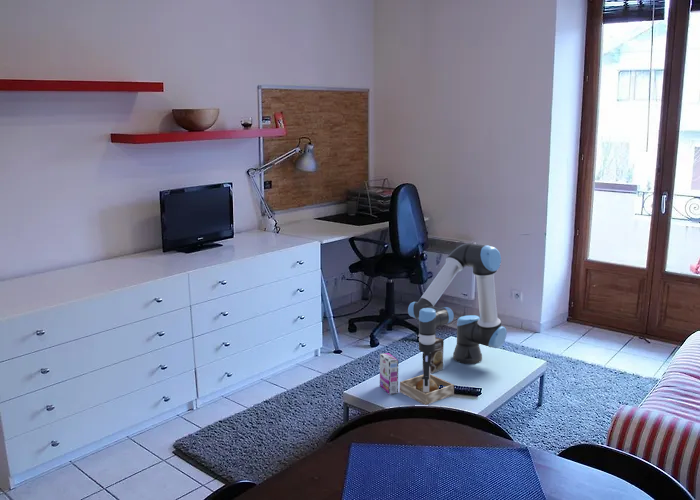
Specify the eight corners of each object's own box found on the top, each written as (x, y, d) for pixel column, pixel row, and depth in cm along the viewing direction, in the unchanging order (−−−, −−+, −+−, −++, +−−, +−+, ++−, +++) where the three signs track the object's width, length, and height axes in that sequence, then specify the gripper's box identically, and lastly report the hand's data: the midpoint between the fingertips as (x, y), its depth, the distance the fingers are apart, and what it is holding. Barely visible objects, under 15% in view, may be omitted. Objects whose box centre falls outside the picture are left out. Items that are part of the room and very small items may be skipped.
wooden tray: (427, 382, 298) (427, 372, 297) (453, 394, 284) (454, 384, 283) (399, 392, 287) (399, 382, 287) (425, 405, 273) (425, 394, 272)
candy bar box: (398, 393, 286) (398, 360, 283) (389, 395, 284) (389, 361, 281) (388, 384, 296) (388, 352, 293) (379, 386, 295) (379, 353, 291)
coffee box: (431, 374, 308) (432, 343, 305) (422, 370, 313) (422, 340, 310) (443, 369, 314) (444, 339, 311) (434, 365, 319) (434, 336, 315)
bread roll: (438, 400, 284) (444, 384, 284) (423, 396, 278) (429, 380, 278) (424, 393, 292) (430, 377, 292) (409, 389, 286) (415, 373, 286)
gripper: (420, 332, 293) (419, 374, 297) (417, 351, 269) (417, 396, 273) (436, 333, 292) (435, 375, 296) (434, 352, 268) (434, 397, 272)
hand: (426, 385), depth 285 cm, fingers open, 13 cm apart
